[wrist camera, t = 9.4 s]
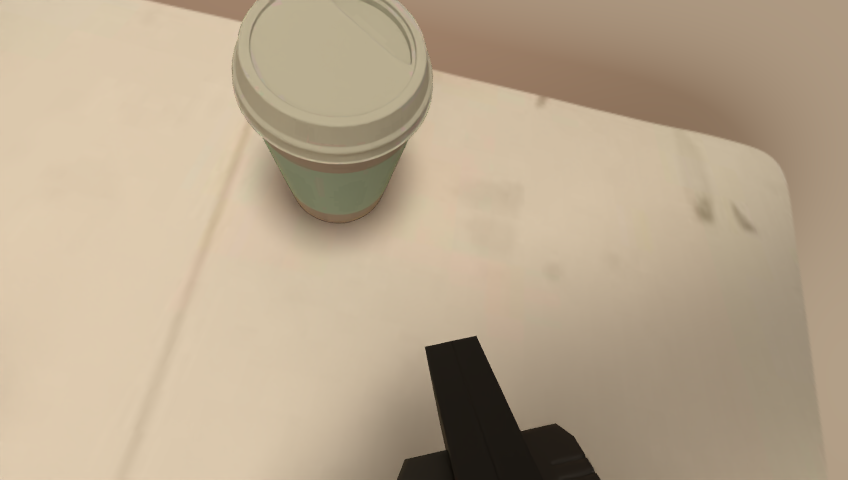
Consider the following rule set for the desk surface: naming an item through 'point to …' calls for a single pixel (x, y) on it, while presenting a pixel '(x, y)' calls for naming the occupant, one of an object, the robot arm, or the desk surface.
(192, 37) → the desk surface
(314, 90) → the coffee cup
